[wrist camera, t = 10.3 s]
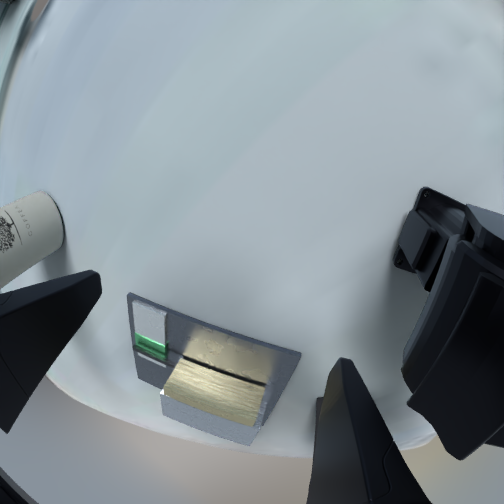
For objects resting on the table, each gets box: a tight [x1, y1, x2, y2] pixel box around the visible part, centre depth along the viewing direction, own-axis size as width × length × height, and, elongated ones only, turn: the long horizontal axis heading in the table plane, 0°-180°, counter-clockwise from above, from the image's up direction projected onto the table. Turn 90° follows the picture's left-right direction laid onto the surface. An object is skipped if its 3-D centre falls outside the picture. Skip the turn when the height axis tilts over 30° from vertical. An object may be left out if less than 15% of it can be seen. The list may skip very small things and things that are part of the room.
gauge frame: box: [127, 293, 301, 446], centre depth 28 cm, size 19×16×5 cm
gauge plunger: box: [133, 344, 265, 427], centre depth 29 cm, size 16×8×5 cm, turn 78°
